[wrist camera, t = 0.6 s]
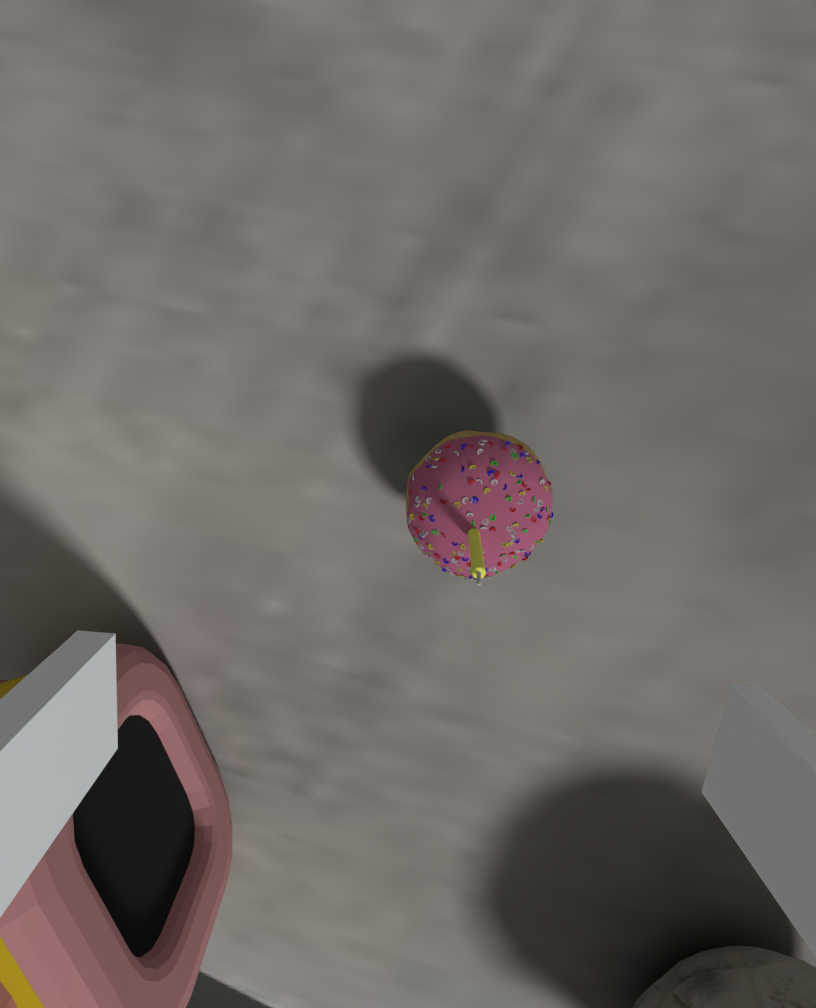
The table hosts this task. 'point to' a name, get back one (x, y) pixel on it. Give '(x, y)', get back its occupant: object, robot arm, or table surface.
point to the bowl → (734, 981)
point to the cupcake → (478, 503)
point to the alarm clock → (126, 865)
